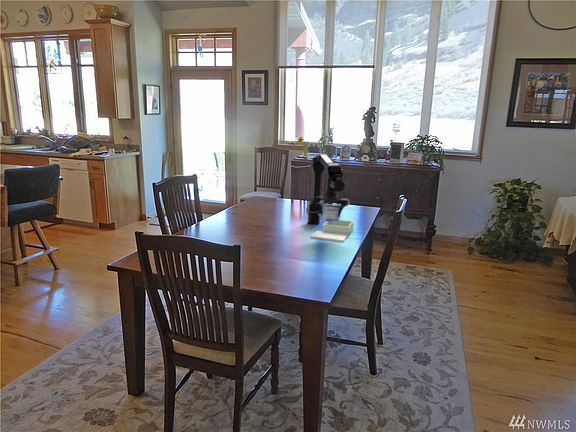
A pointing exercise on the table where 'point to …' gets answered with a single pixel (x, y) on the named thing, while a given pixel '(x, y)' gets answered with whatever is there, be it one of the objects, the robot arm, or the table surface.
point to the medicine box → (330, 212)
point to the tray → (329, 236)
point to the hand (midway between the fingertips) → (330, 216)
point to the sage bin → (338, 227)
